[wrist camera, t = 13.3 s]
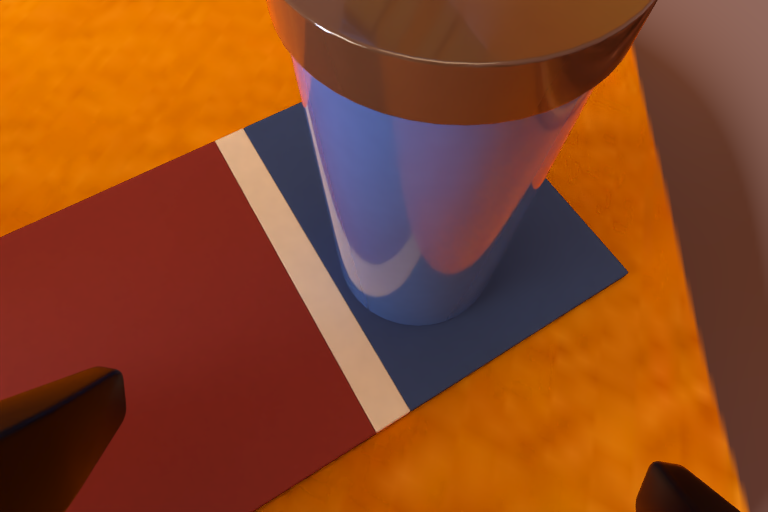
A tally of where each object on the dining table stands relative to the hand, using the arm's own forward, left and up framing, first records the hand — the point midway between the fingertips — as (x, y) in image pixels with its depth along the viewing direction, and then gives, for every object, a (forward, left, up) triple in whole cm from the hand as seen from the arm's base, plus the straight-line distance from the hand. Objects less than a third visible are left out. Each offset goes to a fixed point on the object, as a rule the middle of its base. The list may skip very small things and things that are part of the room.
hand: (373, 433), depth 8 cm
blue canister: (+6, -5, -9) cm, 12 cm away
